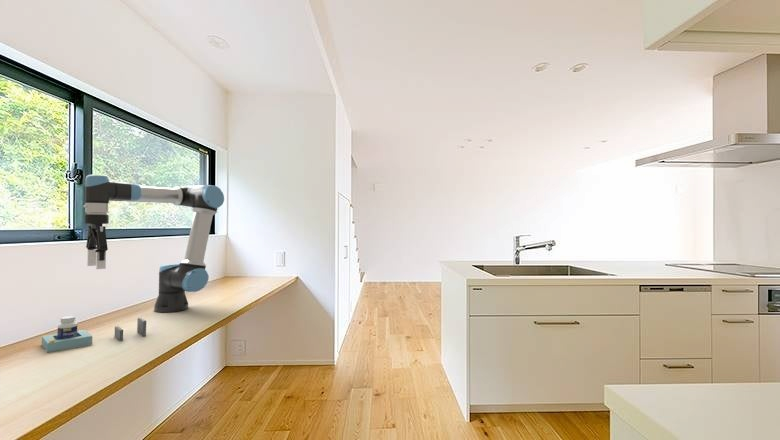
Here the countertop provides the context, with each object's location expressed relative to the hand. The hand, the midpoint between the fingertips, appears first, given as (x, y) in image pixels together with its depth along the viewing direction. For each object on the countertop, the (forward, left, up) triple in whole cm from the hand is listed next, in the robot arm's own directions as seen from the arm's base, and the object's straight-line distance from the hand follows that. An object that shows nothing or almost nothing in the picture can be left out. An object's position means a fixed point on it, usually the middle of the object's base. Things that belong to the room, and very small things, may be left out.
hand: (96, 267), depth 149 cm
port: (+10, +11, -26) cm, 30 cm away
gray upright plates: (-8, +15, -26) cm, 31 cm away
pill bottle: (+10, +10, -26) cm, 30 cm away
